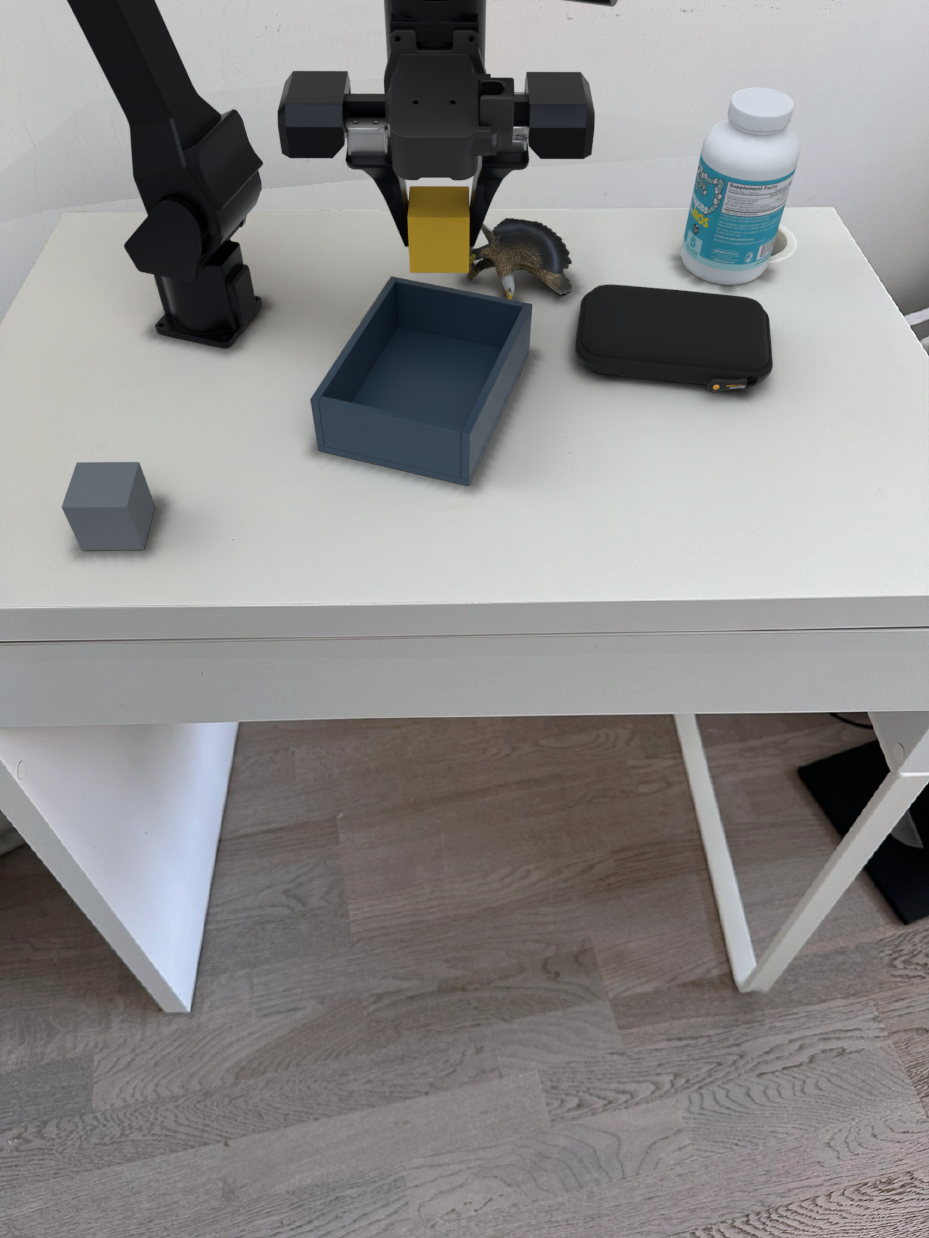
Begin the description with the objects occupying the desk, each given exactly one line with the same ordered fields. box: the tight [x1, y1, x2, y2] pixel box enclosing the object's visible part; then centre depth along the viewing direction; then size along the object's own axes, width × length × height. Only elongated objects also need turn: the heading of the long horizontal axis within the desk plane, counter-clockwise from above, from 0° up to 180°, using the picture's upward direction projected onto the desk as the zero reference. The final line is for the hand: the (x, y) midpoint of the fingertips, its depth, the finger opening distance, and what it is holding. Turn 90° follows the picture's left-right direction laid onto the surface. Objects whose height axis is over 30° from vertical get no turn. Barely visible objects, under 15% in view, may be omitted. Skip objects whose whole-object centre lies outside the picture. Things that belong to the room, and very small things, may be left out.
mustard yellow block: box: [408, 185, 470, 274], centre depth 63 cm, size 4×4×4 cm
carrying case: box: [574, 283, 774, 393], centre depth 72 cm, size 11×3×15 cm
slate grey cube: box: [61, 461, 156, 551], centre depth 60 cm, size 4×4×4 cm
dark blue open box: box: [309, 276, 533, 487], centre depth 68 cm, size 11×15×5 cm
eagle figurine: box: [465, 217, 574, 300], centre depth 76 cm, size 8×7×9 cm
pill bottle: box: [680, 86, 801, 286], centre depth 75 cm, size 8×7×14 cm
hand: (439, 244), depth 64 cm, fingers closed on mustard yellow block, 4 cm apart
